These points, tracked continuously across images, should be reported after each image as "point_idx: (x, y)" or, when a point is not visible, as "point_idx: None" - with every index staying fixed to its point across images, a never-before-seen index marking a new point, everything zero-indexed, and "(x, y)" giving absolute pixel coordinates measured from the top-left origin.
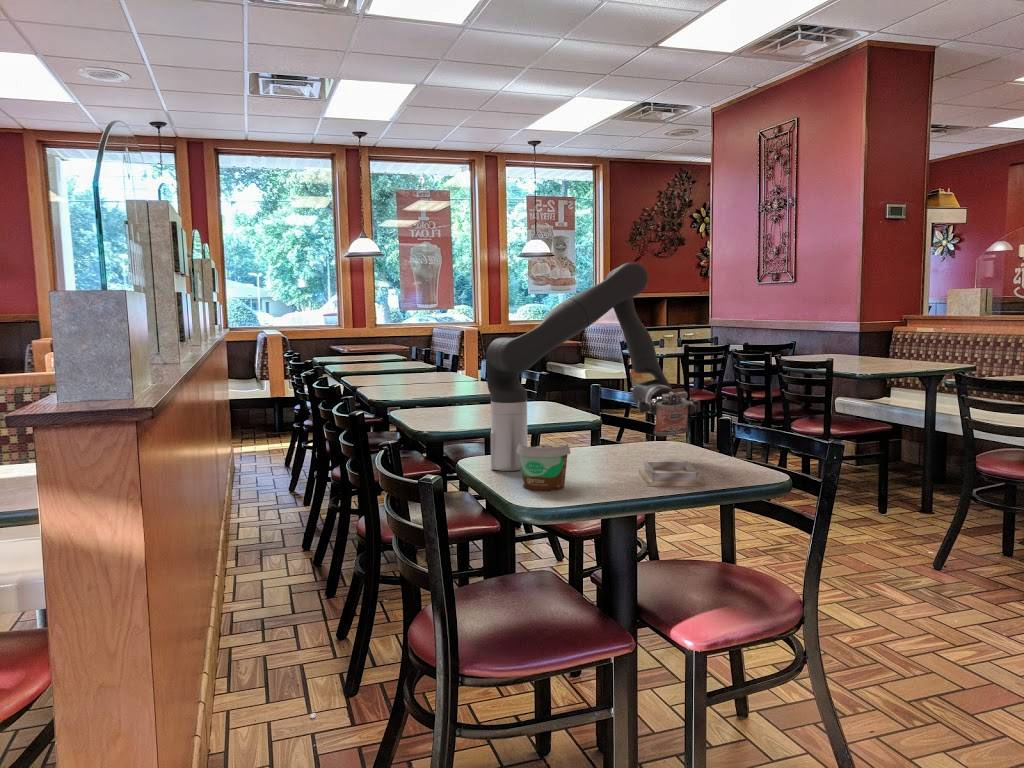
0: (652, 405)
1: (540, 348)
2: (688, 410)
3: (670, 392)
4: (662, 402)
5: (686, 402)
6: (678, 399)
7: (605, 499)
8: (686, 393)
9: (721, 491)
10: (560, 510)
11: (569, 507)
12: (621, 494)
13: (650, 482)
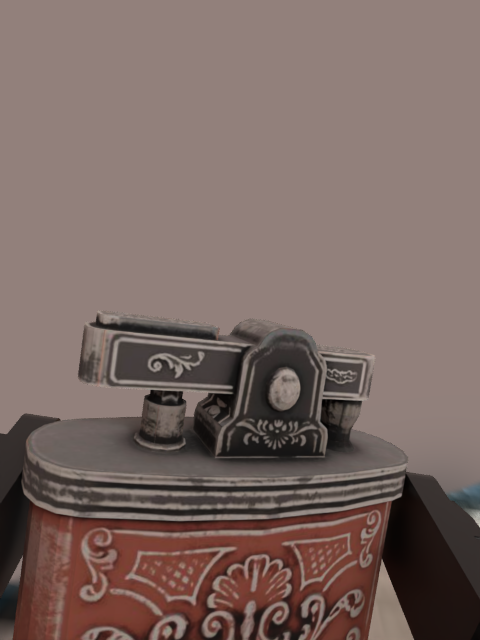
0: (455, 526)
1: None
2: (11, 555)
3: (296, 330)
4: (353, 456)
5: (79, 431)
6: (184, 404)
7: None
8: (100, 321)
9: (3, 597)
10: (475, 485)
11: (469, 501)
12: (383, 600)
13: None
